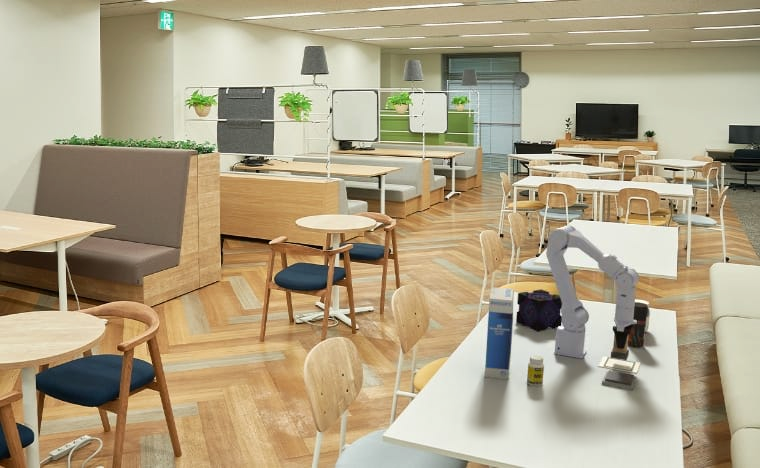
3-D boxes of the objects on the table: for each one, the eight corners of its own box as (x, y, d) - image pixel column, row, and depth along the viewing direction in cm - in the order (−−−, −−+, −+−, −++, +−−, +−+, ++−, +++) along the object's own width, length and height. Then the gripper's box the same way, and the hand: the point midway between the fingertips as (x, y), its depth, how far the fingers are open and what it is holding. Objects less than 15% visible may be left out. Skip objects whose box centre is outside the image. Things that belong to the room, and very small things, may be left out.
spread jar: (643, 337, 266) (646, 307, 263) (612, 331, 272) (615, 301, 269) (651, 328, 276) (654, 299, 273) (621, 323, 282) (624, 294, 279)
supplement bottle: (533, 387, 218) (535, 361, 217) (523, 381, 222) (525, 356, 221) (545, 384, 220) (547, 358, 219) (535, 379, 224) (537, 353, 223)
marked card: (598, 366, 236) (598, 365, 236) (603, 356, 245) (603, 355, 245) (636, 373, 231) (636, 372, 231) (640, 363, 240) (640, 362, 240)
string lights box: (487, 362, 238) (491, 286, 232) (510, 364, 236) (515, 288, 231) (484, 377, 225) (488, 298, 220) (509, 380, 223) (514, 300, 218)
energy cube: (561, 327, 275) (563, 297, 273) (537, 331, 269) (539, 301, 267) (539, 318, 285) (541, 289, 283) (516, 322, 279) (518, 293, 277)
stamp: (610, 357, 236) (612, 334, 235) (612, 352, 241) (614, 330, 239) (626, 360, 234) (628, 336, 233) (628, 355, 239) (630, 332, 237)
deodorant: (644, 348, 254) (648, 307, 251) (627, 346, 255) (631, 306, 252) (642, 342, 260) (646, 302, 257) (625, 341, 261) (628, 301, 258)
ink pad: (601, 384, 222) (602, 378, 221) (606, 374, 230) (607, 369, 229) (632, 389, 218) (632, 384, 218) (636, 379, 226) (636, 374, 226)
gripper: (635, 314, 226) (631, 355, 229) (640, 302, 239) (636, 341, 241) (611, 310, 229) (608, 351, 232) (618, 299, 242) (615, 338, 244)
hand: (621, 346), depth 237 cm, fingers closed on stamp, 4 cm apart
